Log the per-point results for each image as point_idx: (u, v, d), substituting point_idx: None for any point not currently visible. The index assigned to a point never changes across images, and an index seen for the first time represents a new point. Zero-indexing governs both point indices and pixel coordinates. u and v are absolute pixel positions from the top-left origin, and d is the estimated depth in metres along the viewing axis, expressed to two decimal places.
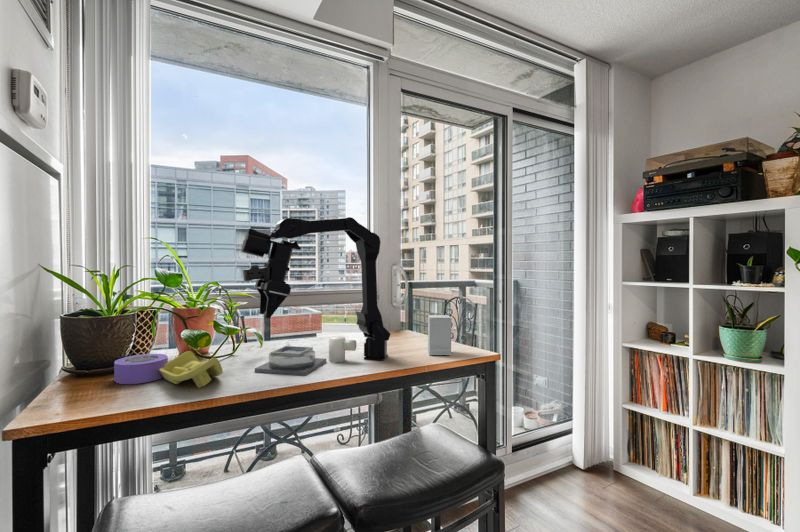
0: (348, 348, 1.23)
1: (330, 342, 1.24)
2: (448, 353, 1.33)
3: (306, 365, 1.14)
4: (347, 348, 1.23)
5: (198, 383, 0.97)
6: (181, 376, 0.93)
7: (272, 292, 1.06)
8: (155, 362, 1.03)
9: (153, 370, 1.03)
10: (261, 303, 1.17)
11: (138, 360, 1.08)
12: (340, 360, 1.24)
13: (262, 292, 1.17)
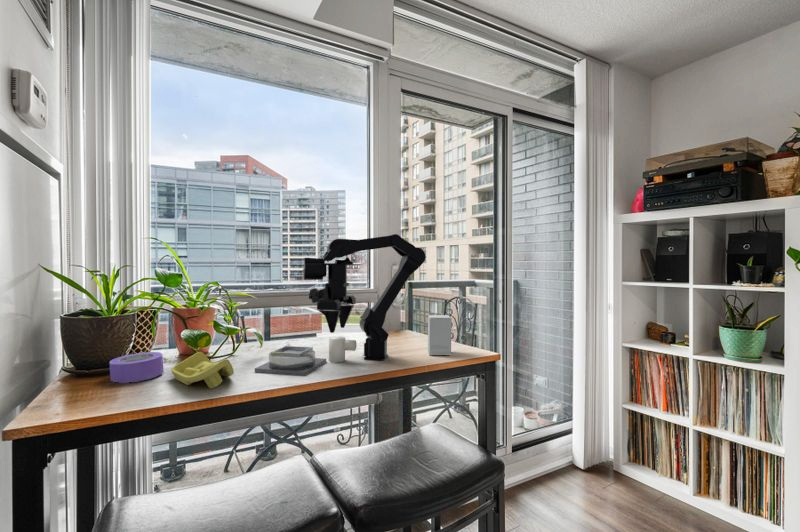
0: (348, 348, 1.23)
1: (330, 342, 1.24)
2: (448, 353, 1.33)
3: (306, 365, 1.14)
4: (347, 348, 1.23)
5: (210, 384, 0.97)
6: (193, 377, 0.94)
7: (324, 310, 1.18)
8: (146, 361, 1.03)
9: (144, 369, 1.03)
10: (340, 318, 1.30)
11: (136, 358, 1.10)
12: (340, 360, 1.24)
13: (339, 308, 1.31)
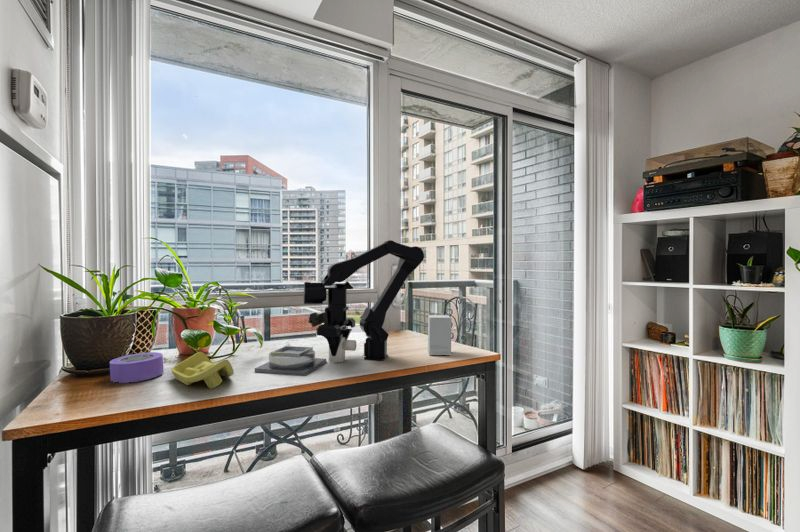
0: (348, 348, 1.23)
1: None
2: (448, 353, 1.33)
3: (306, 365, 1.14)
4: (347, 348, 1.23)
5: (209, 384, 0.97)
6: (192, 377, 0.93)
7: None
8: (143, 362, 1.03)
9: (141, 370, 1.03)
10: None
11: (138, 358, 1.10)
12: (340, 360, 1.24)
13: None
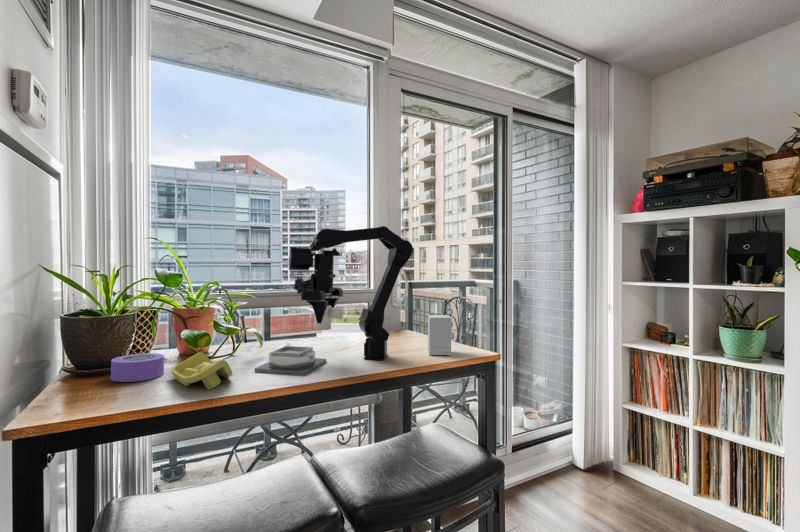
0: (334, 315, 1.21)
1: None
2: (448, 353, 1.33)
3: (306, 365, 1.14)
4: (333, 316, 1.21)
5: (207, 385, 0.97)
6: (190, 378, 0.93)
7: (311, 300, 1.17)
8: (141, 362, 1.02)
9: (138, 370, 1.02)
10: None
11: (142, 358, 1.11)
12: (325, 328, 1.21)
13: None
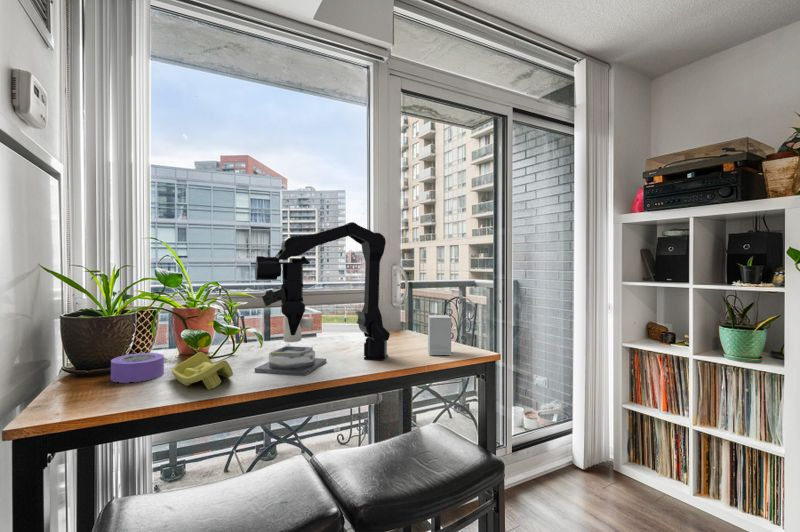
0: (307, 325, 1.18)
1: (287, 321, 1.15)
2: (448, 353, 1.33)
3: (306, 365, 1.14)
4: (307, 326, 1.17)
5: (208, 385, 0.96)
6: (190, 378, 0.93)
7: (288, 312, 1.12)
8: (138, 364, 1.02)
9: (136, 371, 1.02)
10: None
11: (143, 358, 1.11)
12: (298, 339, 1.16)
13: None
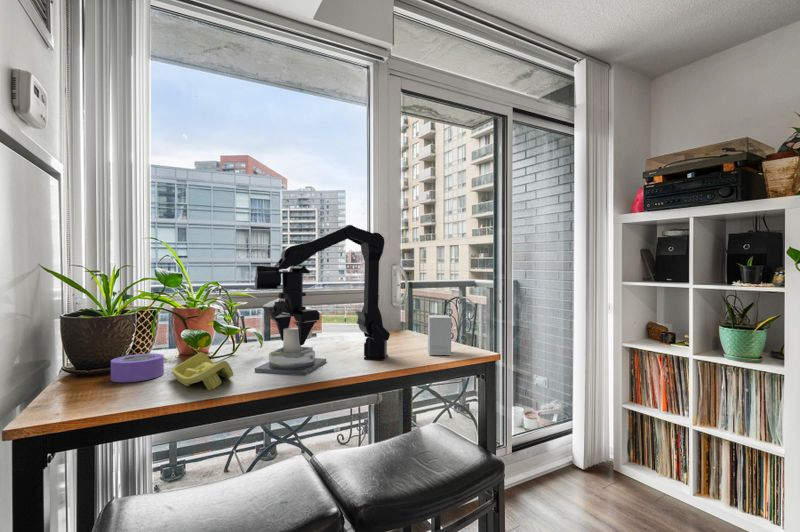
0: (307, 337, 1.20)
1: (292, 334, 1.15)
2: (448, 353, 1.33)
3: (306, 365, 1.14)
4: None
5: (208, 386, 0.96)
6: (191, 379, 0.93)
7: (305, 322, 1.12)
8: (136, 363, 1.02)
9: (134, 371, 1.02)
10: (281, 331, 1.20)
11: (144, 359, 1.11)
12: (300, 351, 1.18)
13: (279, 320, 1.20)
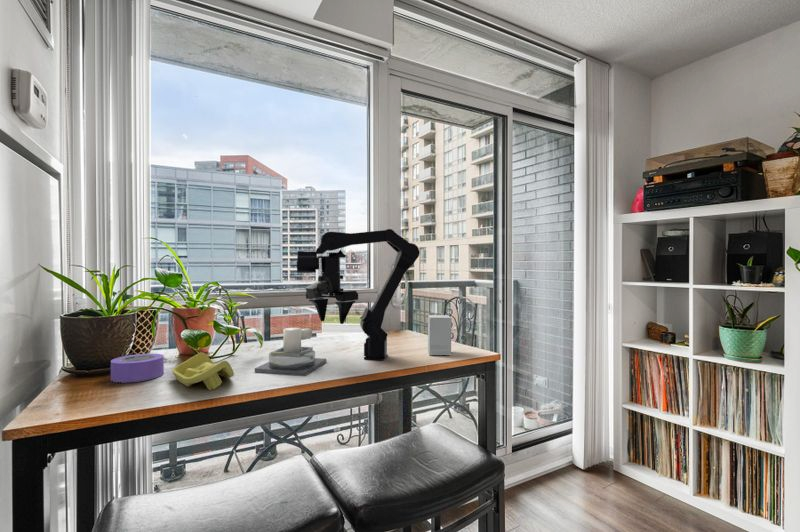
0: (307, 337, 1.20)
1: (292, 334, 1.15)
2: (448, 353, 1.33)
3: (306, 365, 1.14)
4: (306, 337, 1.20)
5: (209, 386, 0.96)
6: (191, 379, 0.92)
7: (346, 301, 1.20)
8: (135, 363, 1.02)
9: (132, 371, 1.02)
10: (320, 312, 1.29)
11: (144, 359, 1.11)
12: (300, 351, 1.18)
13: (318, 302, 1.29)
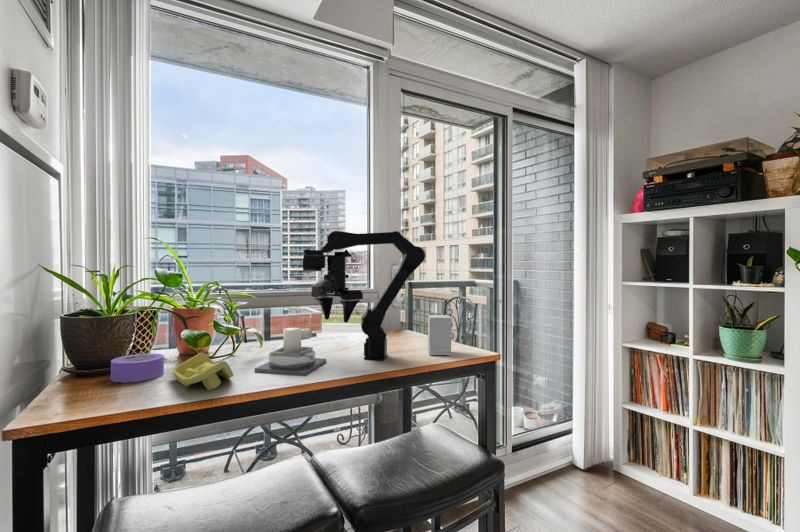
0: (307, 337, 1.20)
1: (292, 334, 1.15)
2: (448, 353, 1.33)
3: (306, 365, 1.14)
4: (306, 337, 1.20)
5: (208, 386, 0.96)
6: (190, 379, 0.92)
7: (350, 300, 1.21)
8: (134, 363, 1.02)
9: (131, 371, 1.02)
10: (325, 310, 1.30)
11: (145, 359, 1.11)
12: (300, 351, 1.18)
13: (323, 300, 1.30)
